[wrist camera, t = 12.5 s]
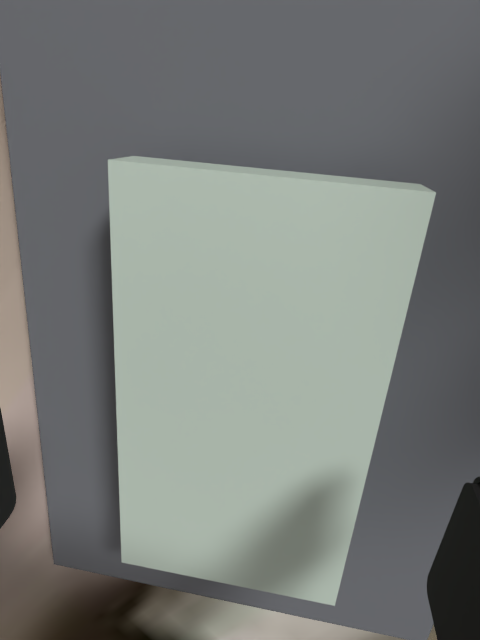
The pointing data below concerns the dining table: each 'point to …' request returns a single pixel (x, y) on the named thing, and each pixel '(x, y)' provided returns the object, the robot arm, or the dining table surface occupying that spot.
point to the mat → (267, 153)
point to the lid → (253, 362)
